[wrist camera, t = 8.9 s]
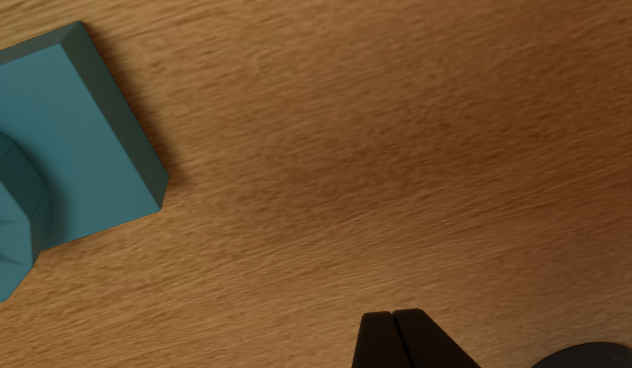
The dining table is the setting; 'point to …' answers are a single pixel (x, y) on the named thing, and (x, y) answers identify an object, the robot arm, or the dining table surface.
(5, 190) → the button block
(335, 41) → the dining table surface
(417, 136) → the dining table surface
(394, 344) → the robot arm
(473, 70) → the dining table surface
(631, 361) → the travel mug
